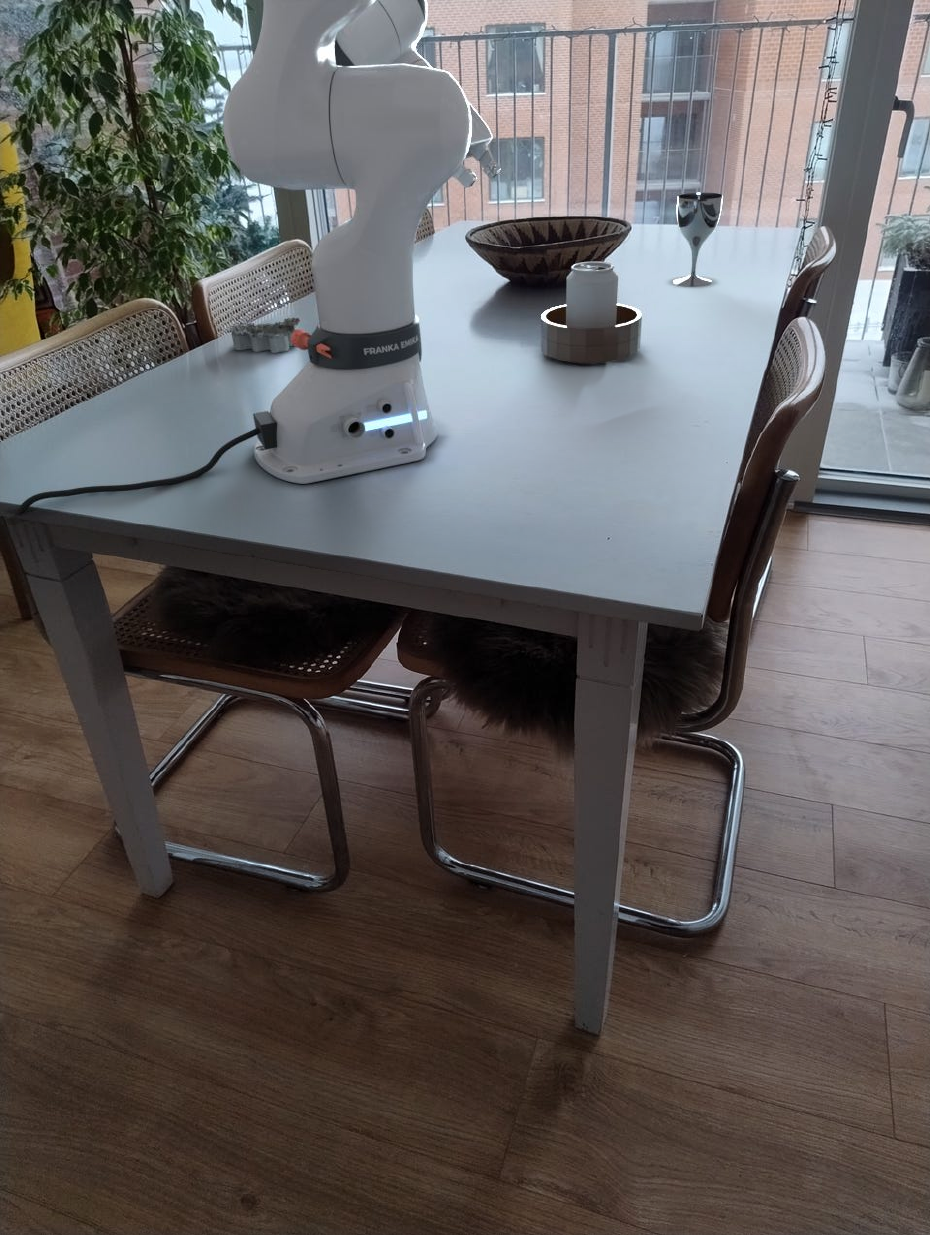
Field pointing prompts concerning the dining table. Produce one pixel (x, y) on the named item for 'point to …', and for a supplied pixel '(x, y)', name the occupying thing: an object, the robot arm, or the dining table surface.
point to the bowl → (590, 337)
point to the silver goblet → (697, 227)
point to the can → (591, 295)
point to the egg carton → (264, 335)
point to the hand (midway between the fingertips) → (484, 179)
